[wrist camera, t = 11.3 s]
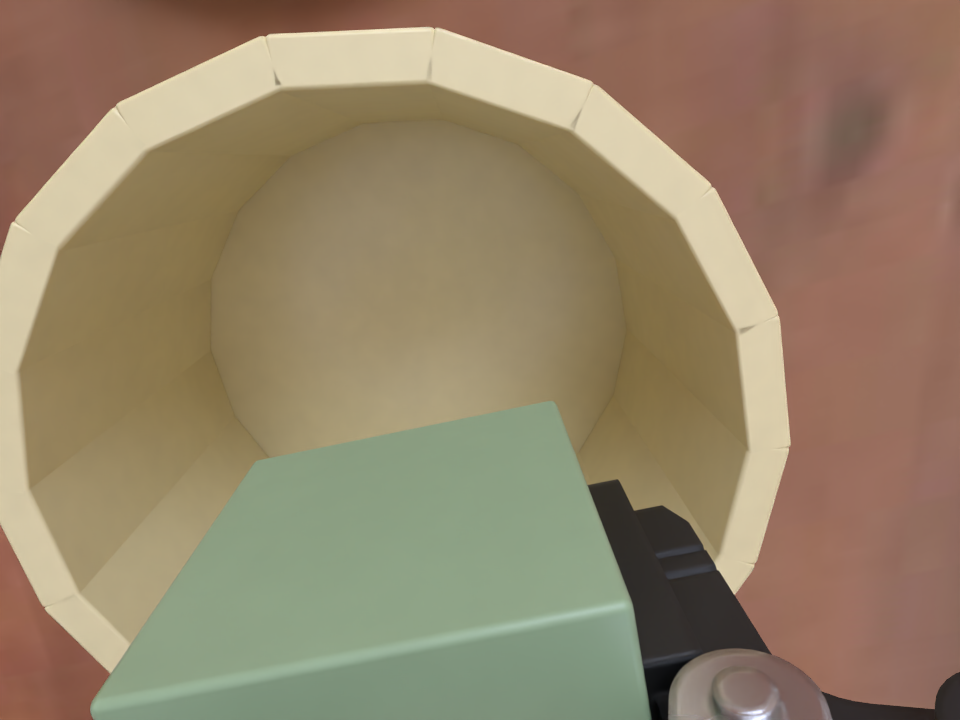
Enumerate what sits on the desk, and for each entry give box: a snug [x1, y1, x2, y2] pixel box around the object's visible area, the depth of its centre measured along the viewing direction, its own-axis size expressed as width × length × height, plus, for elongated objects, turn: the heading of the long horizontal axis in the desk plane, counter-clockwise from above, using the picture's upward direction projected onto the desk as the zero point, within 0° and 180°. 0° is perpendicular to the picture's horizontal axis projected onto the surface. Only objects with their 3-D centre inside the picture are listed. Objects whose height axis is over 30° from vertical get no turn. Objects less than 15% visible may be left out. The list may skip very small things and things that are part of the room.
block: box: [90, 401, 652, 720], centre depth 8 cm, size 4×4×4 cm
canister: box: [0, 27, 791, 674], centre depth 16 cm, size 14×15×10 cm
